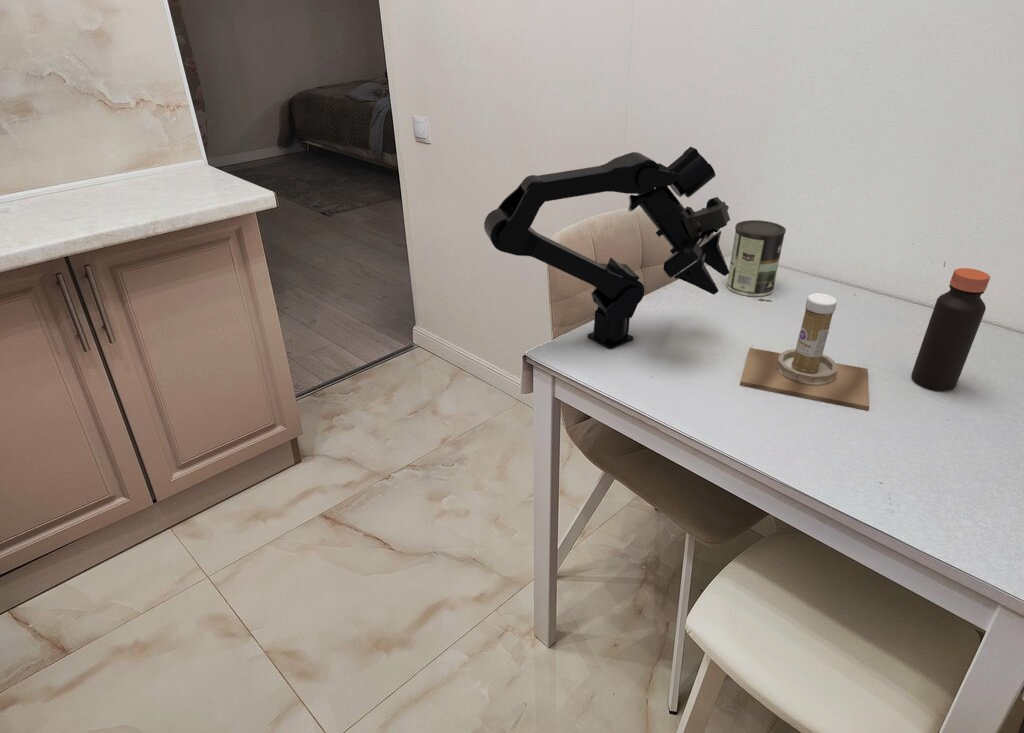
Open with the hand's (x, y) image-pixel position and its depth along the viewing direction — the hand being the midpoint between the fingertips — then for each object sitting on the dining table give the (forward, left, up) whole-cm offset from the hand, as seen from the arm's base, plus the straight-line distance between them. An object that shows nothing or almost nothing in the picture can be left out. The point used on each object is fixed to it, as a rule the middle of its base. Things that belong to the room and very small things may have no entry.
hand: (721, 283), depth 119 cm
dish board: (+4, -17, -13) cm, 22 cm away
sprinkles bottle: (+5, -16, -12) cm, 21 cm away
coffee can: (+30, +13, -13) cm, 35 cm away
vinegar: (+20, -31, -13) cm, 39 cm away
